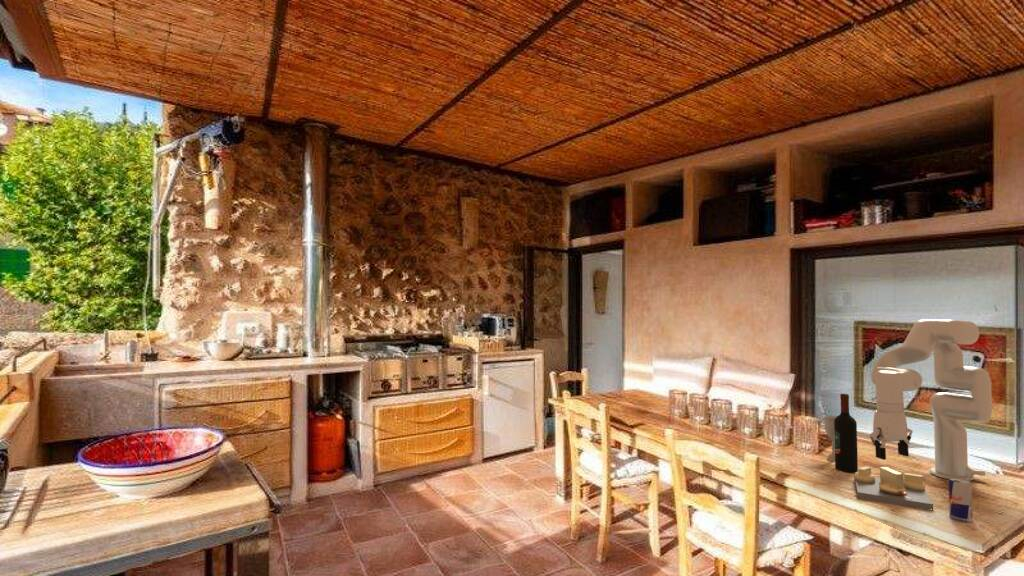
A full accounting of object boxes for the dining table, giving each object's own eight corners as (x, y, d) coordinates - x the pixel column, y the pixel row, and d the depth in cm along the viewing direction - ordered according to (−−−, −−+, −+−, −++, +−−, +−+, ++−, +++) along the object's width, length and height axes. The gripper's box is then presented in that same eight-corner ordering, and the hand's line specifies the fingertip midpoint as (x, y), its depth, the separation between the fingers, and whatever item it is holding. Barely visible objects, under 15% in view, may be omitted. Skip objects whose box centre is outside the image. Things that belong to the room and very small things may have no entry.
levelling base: (922, 490, 178) (921, 472, 178) (933, 510, 160) (932, 490, 161) (854, 479, 188) (853, 462, 188) (857, 498, 171) (857, 479, 171)
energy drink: (944, 516, 156) (943, 477, 157) (960, 515, 157) (959, 476, 157) (961, 523, 151) (960, 483, 151) (977, 522, 152) (976, 483, 152)
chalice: (838, 457, 215) (837, 415, 215) (847, 462, 208) (846, 419, 208) (820, 457, 215) (819, 415, 216) (829, 462, 209) (828, 418, 209)
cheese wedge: (874, 487, 174) (873, 467, 174) (893, 487, 175) (892, 466, 175) (895, 497, 165) (894, 476, 165) (915, 497, 166) (914, 475, 166)
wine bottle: (851, 474, 194) (849, 396, 195) (831, 468, 201) (829, 393, 202) (862, 471, 198) (860, 394, 198) (842, 465, 204) (840, 391, 205)
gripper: (899, 402, 177) (901, 450, 177) (859, 406, 173) (861, 456, 173) (920, 407, 170) (923, 457, 170) (880, 411, 166) (882, 463, 166)
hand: (892, 456), depth 172 cm, fingers open, 9 cm apart
